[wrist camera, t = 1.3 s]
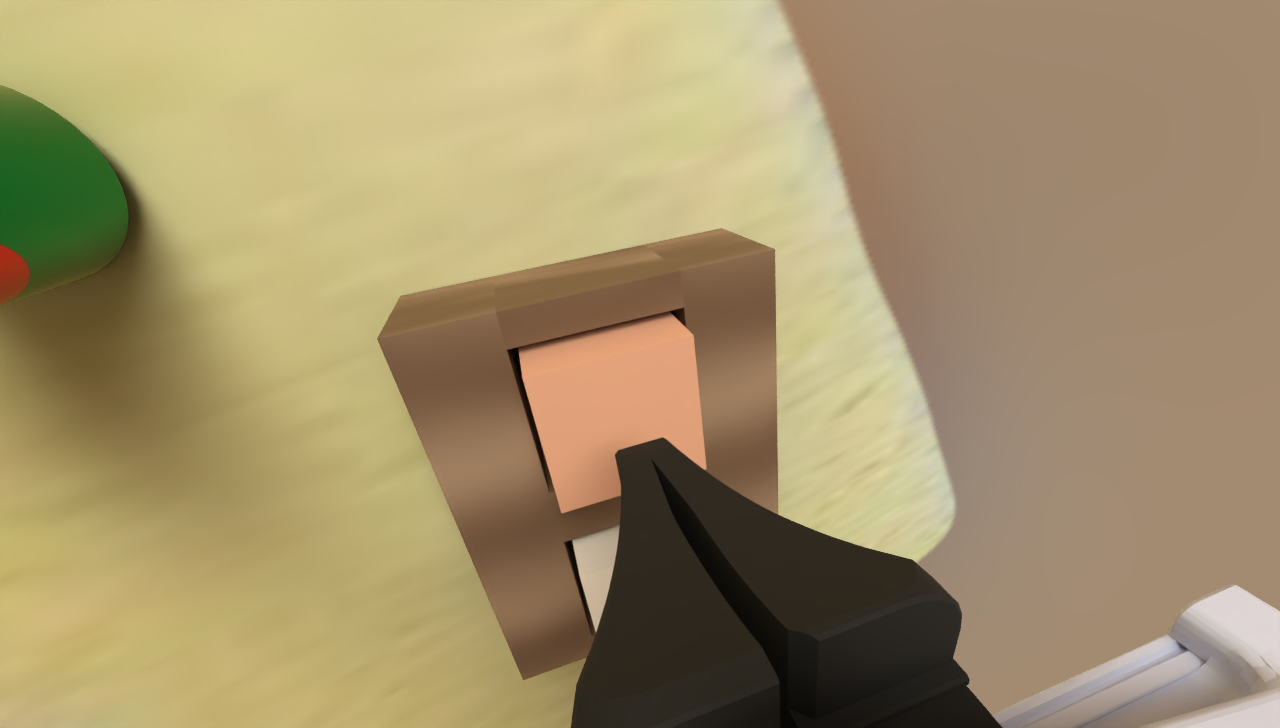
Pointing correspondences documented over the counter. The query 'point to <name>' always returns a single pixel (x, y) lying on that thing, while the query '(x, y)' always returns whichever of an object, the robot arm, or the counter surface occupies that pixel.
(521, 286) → the key console
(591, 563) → the offwhite key
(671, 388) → the terracotta key
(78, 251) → the soda can
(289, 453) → the counter surface
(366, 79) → the counter surface
